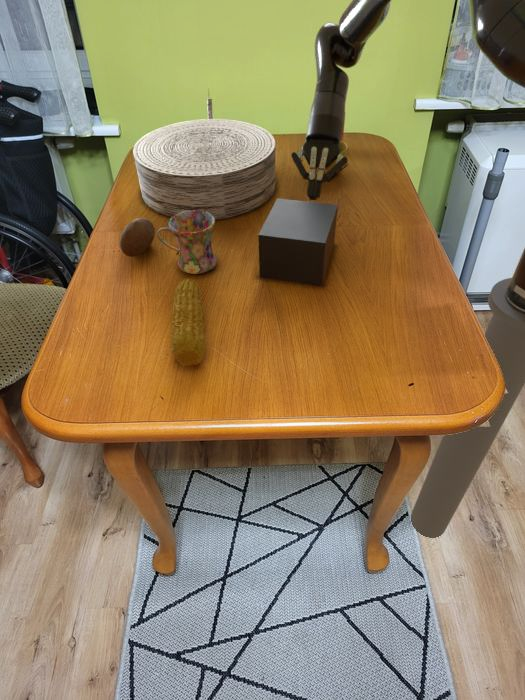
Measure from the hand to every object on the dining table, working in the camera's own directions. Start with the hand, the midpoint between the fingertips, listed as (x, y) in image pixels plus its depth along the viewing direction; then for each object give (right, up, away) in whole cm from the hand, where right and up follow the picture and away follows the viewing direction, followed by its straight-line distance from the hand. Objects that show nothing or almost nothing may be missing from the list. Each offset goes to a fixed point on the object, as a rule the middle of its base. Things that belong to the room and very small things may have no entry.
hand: (312, 199), depth 106 cm
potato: (-37, -12, -2) cm, 39 cm away
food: (-24, -30, -21) cm, 43 cm away
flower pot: (+6, +14, +23) cm, 27 cm away
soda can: (+9, +24, +33) cm, 42 cm away
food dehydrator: (-25, +10, +20) cm, 34 cm away
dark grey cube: (-4, -15, -6) cm, 16 cm away
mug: (-26, -16, -6) cm, 31 cm away
